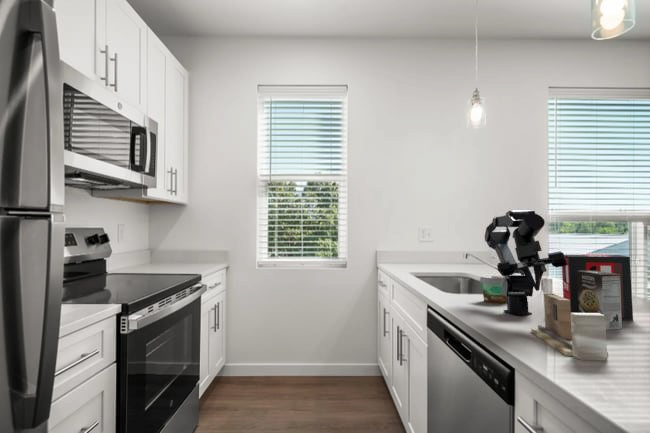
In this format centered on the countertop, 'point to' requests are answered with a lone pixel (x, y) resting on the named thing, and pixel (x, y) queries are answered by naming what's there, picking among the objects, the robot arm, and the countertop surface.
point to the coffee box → (601, 296)
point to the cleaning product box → (603, 264)
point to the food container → (493, 290)
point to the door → (558, 315)
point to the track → (580, 337)
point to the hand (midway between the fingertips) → (537, 290)
